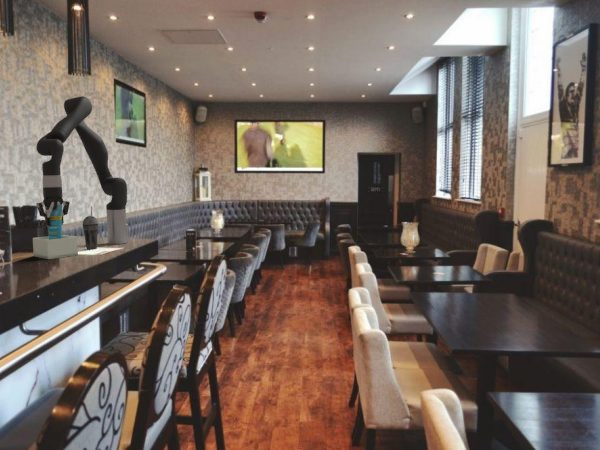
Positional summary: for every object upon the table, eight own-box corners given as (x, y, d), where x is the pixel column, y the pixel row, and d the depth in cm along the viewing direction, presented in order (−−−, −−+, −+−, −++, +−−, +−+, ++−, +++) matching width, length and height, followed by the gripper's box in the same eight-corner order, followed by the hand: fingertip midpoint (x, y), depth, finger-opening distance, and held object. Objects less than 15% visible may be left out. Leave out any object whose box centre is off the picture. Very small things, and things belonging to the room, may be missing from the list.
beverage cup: (79, 249, 254) (77, 206, 252) (92, 247, 260) (90, 205, 258) (90, 250, 250) (88, 207, 248) (103, 248, 257) (101, 206, 255)
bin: (62, 252, 244) (61, 235, 243) (78, 255, 236) (77, 237, 235) (33, 256, 233) (32, 237, 233) (48, 259, 225) (47, 240, 225)
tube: (45, 250, 232) (42, 205, 230) (48, 248, 236) (46, 204, 234) (63, 249, 233) (60, 205, 231) (66, 248, 237) (64, 204, 235)
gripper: (63, 185, 239) (65, 223, 241) (31, 186, 228) (33, 226, 230) (72, 185, 235) (74, 224, 237) (40, 186, 224) (42, 227, 225)
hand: (54, 225), depth 233 cm, fingers closed on tube, 4 cm apart
